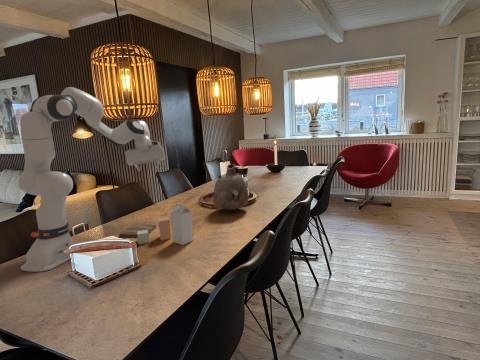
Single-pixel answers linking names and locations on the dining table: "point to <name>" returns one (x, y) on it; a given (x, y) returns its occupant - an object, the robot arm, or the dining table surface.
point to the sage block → (143, 236)
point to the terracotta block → (164, 228)
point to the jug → (230, 190)
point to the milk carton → (182, 224)
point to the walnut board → (133, 230)
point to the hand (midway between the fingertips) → (148, 169)
